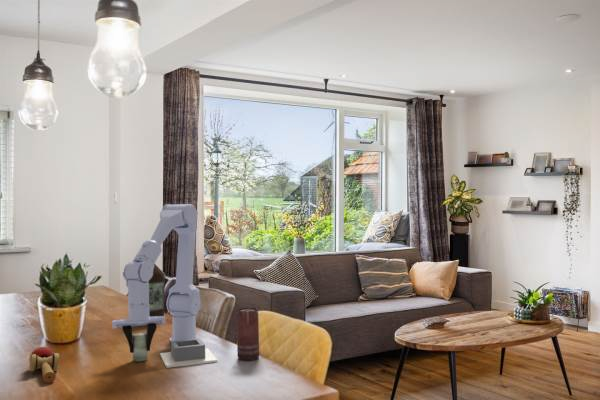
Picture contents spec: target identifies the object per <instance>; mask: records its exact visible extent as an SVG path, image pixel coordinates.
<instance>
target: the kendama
mask: <svg viewBox="0 0 600 400" xmlns="http://www.w3.org/2000/svg"><path fill="white" fill-rule="evenodd" d="M59 365H60V354H59V353H57V352H55V353H54V352H53V351H52V349H50V348H49V347H46V346H39V347H37V348H35V349H34V350H33V351H32V352H31V353H30V356H29V372H35V371H36V370H41V373H42V380H43V382H44V383H46V384H51V383H53V382H54V381H55V380H56V374H55V372H58V369H59Z"/></svg>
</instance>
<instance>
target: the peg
mask: <svg viewBox="0 0 600 400" xmlns="http://www.w3.org/2000/svg"><path fill="white" fill-rule="evenodd" d="M132 345H133V353H132V361H133V362H145V361H147V360H148V351H147V333H144V332H143V333H141V332H140V333H135V334H132Z"/></svg>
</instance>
